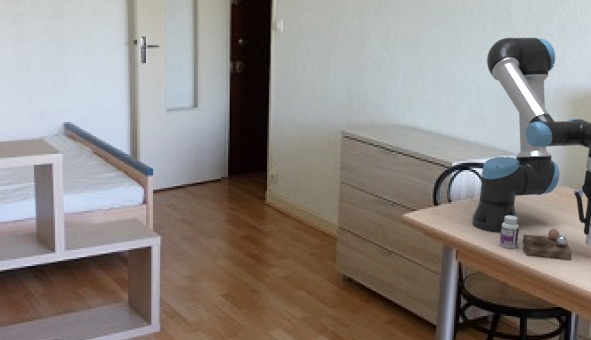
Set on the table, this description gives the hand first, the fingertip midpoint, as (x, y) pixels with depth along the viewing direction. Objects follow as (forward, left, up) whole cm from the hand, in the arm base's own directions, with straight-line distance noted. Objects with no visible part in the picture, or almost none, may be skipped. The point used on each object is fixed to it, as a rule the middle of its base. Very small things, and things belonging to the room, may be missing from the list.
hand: (588, 244), depth 235 cm
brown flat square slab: (-12, +1, -4) cm, 13 cm away
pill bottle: (-24, +3, -4) cm, 24 cm away
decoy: (-10, +6, 0) cm, 11 cm away
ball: (-8, 0, 0) cm, 8 cm away
